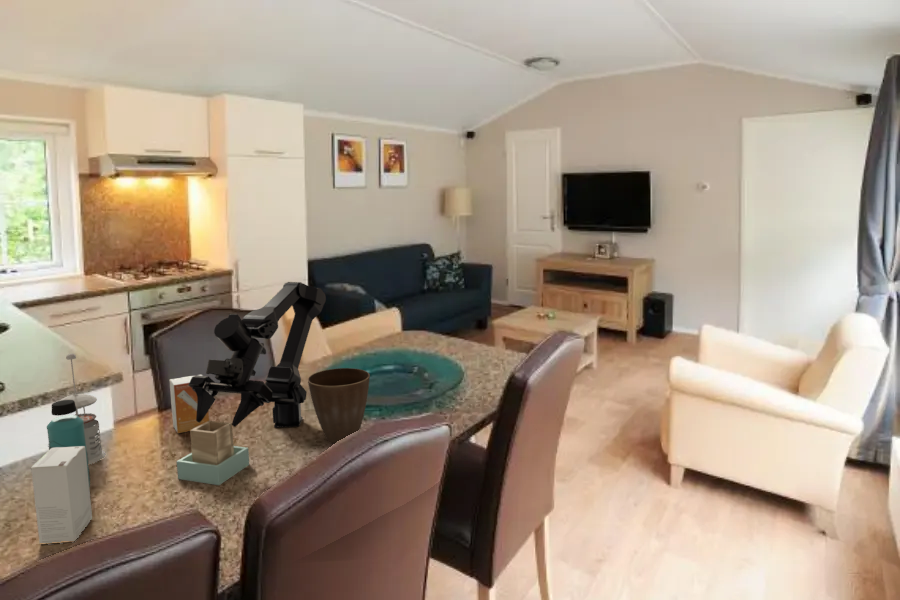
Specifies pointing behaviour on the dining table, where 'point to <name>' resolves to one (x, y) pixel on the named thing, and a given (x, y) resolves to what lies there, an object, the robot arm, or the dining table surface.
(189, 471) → the teal crate
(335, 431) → the plant pot
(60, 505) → the skincare box
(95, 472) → the dining table surface
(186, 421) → the small box
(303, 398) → the robot arm
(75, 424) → the beverage bottle
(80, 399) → the french press
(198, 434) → the birch crate
